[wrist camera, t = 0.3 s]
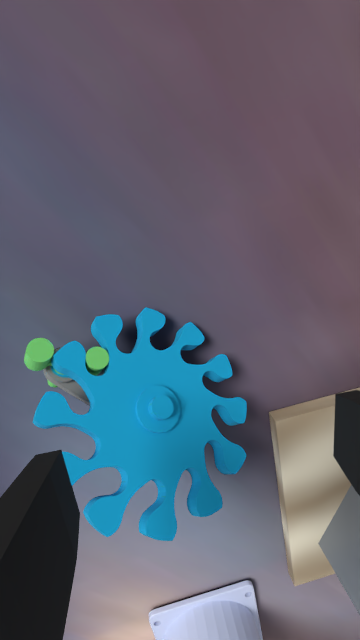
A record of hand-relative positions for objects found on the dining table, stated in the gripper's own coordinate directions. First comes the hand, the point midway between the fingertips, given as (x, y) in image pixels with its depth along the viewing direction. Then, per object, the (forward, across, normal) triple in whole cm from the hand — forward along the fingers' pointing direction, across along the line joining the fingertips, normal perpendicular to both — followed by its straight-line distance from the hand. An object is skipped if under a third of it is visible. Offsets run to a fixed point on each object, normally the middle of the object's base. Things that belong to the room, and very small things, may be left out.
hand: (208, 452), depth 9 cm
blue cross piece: (+10, +2, +2) cm, 11 cm away
